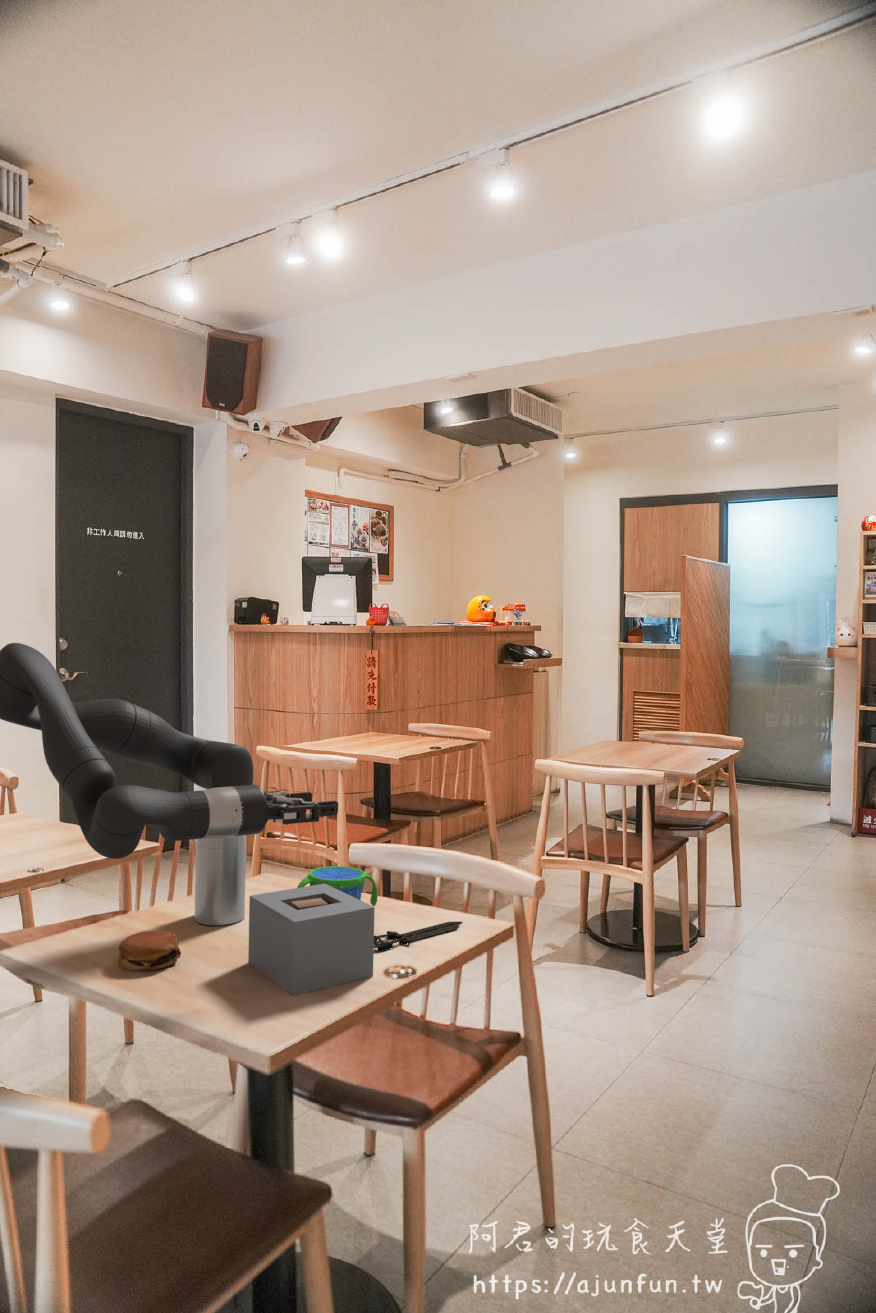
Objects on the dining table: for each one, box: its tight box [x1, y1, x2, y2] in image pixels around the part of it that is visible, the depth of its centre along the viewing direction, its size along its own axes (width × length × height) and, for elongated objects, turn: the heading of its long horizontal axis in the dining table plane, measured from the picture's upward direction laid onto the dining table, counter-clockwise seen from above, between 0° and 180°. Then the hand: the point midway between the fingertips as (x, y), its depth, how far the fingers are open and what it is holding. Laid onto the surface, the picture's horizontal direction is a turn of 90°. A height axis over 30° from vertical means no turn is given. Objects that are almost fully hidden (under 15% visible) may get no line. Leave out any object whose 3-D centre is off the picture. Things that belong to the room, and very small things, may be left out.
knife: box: [374, 921, 464, 953], centre depth 159 cm, size 25×6×1 cm, turn 126°
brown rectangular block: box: [291, 898, 328, 910], centre depth 141 cm, size 4×5×10 cm
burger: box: [117, 930, 182, 971], centre depth 144 cm, size 10×9×5 cm
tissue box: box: [247, 884, 375, 996], centre depth 142 cm, size 16×14×11 cm
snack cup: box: [296, 865, 379, 907], centre depth 163 cm, size 16×10×10 cm
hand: (323, 802), depth 143 cm, fingers open, 8 cm apart
